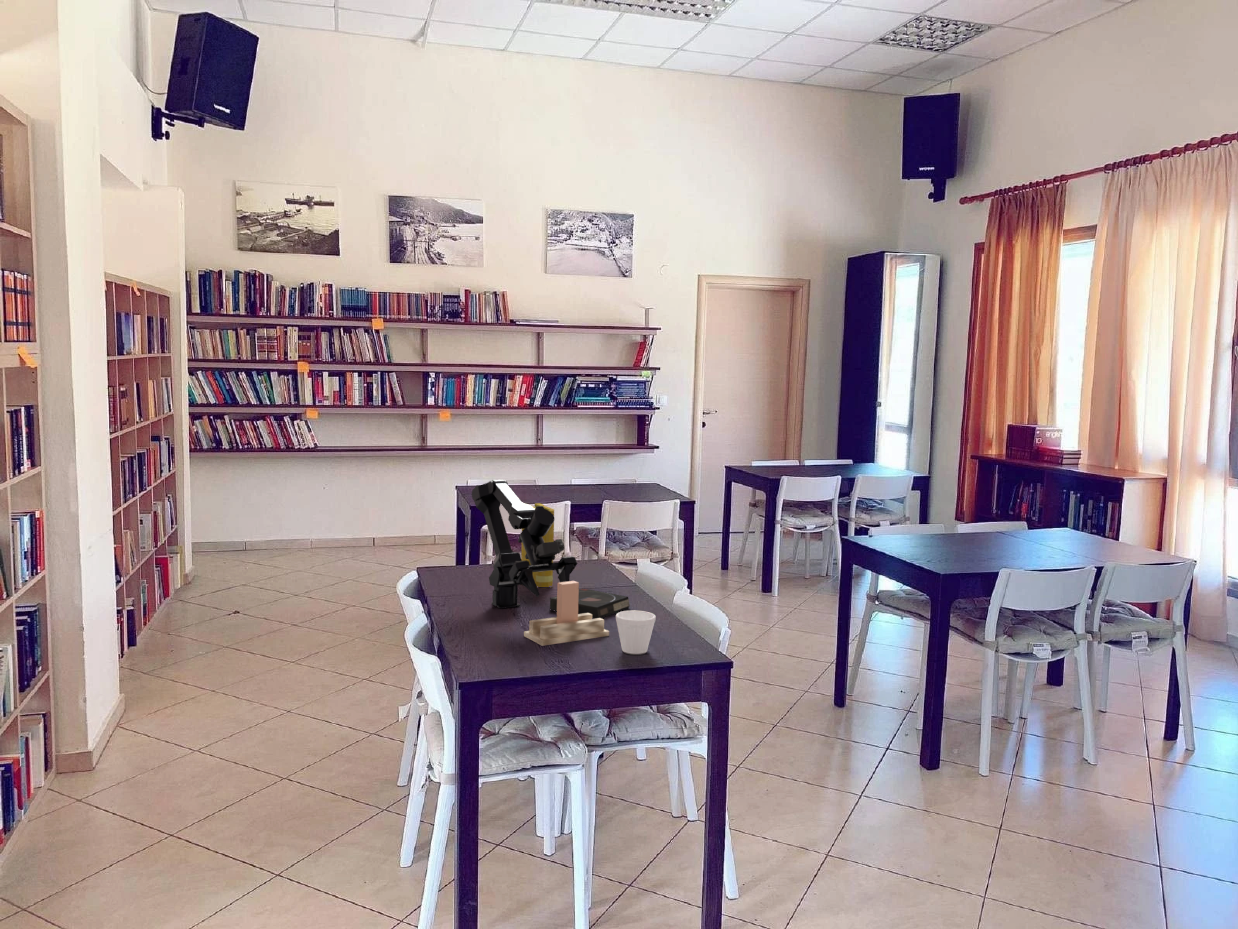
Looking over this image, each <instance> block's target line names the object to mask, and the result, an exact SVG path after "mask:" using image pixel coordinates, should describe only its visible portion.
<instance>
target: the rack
mask: <svg viewBox="0 0 1238 929" xmlns="http://www.w3.org/2000/svg"><path fill="white" fill-rule="evenodd" d="M528 622H529V625H528V628H529V629H528V630H526V631H523V637H525V638H527V639H529V640H531V641H533V643H534V642H535V643H536V644H538V645H540V646H542V647H543V646H549V645H550V646H551V645H556V644H564V643H570V642H575V641H577V642H578V641H583V640H584V641H585V640H589V639H596V638H603V637H608V636H609V637H610V630H608V629H605V619H603V618H596V619H592V614H590V613H583V614H578V621H574V622H567V623H560V624H556V623H557V616H554V617H547V618H540V619H533V620H532V619H531V620H529V621H528Z"/></svg>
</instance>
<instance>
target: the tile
mask: <svg viewBox="0 0 1238 929" xmlns="http://www.w3.org/2000/svg"><path fill="white" fill-rule="evenodd" d="M579 587H580V583H579V581H575V580H571V581H570V580H569V581H568V582H560V581H559V582H557V589H556V590H557V592H556V596H557V612H556V617H557V623H556V624H560V623H567V622H574V621H578V596H579Z"/></svg>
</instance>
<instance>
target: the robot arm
mask: <svg viewBox="0 0 1238 929" xmlns="http://www.w3.org/2000/svg"><path fill="white" fill-rule="evenodd" d="M471 498H472V500H473V502H474V505H475V507H476V509H477V510H479V511H480V512H481V513H482V514H483V516H484V519H485V522H486V523H485V524H486V526H487V529H488V533H489V536H490V539H491V543H492V547H493V550H494V554H495V559H494V563H493V565H492V566H493V567H492V568H493V569H492V572H491V574H489V577H488V581H489V585H490V586H492V587H493V590H492V597H491V598H492V600H491V605H492V606H495V607H496V606H497V608H498V609H508V608H515V607H516V606H517V607H521V604H520V603H518V594H519V592H518V590H519V589H518V588H519V586H524V587H525V588H526V589H527V590H529V591H530V592H531V593H532V594H533V595H534V596H535V597H536V598H539V597H540V591H539V588H537V585H536V583H535V580H534V578H533V572H542V571H552V570H553V571H555V572H556V574H557V579H558V580H559V582H568V581H570V577H571V574H572V573H573V571H574V569H575V568H576V567H577V565H578V560H577V559H576V558H577V557H575V556H573V555H571V556H569V555H568V556H562V557H561V558H560V559H559V560H558V562H553V563H552V560H553V561H554V560H555V559H556V556H557V554H560V553H561V552H562V551H564V550H565V543H564V541H563V539H561V538H558V539H555V540H554V542H544V540H543V537H542V536H545V535H546V534H547V532H548V530H549V529H550V527H551V526H552V524H553V522H554V523H555V514H554V515H553V514H552V513H551V512H550V511H548V510H546V509H544V507H543V506H536V508H535V509H534V508H533V507H534V506H533V505H531V504H528V503H524V502H522V501H521V499H520V498H519V497H518V495H516V493H515V492H514V491H513V490H512V488H511V487H510V486H509V483H508V481H507V480H506V479H492V480H489V481H488V482H485V483H483V484H477V485H476V486H475V487H474V488H473V489H472V491H471ZM530 505H531V506H530ZM501 506H502V507H503V508H504V509H505V511H506V512H507V514H508V518H507V520H508V521H509V524H510V526H511V527H512V529H513V530H521V532H520V533H519V537H518V538H517V539H518V540H517V541H518V543H519V544H522V543H523V545H524V548H525V551H526V553H527V554H526V555H525V558H526V559H529V561H530V563H529V561H527V560H525V561H522V560H521V553H519V552H518V551H517V552H515V551H513V550H512V547H511V544H510V540H509V537H508V533H507V530H506V526H505V524H504V520H503V516H502V512H501V509H500V508H501ZM532 506H533V507H532ZM522 529H524V530H523V531H522ZM530 564H531V565H530ZM517 607H516V608H517Z"/></svg>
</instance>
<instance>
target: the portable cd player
mask: <svg viewBox="0 0 1238 929" xmlns="http://www.w3.org/2000/svg"><path fill="white" fill-rule="evenodd" d="M630 605H631V604H630V599H629V596H628V595H627V596H626V595H622V594H616V593H611V592H610V593H609V592H604V591H600V590H593V589H588V588H584V587H583V588H580V589H579V596H578V614H583V613H590V614H592V618H593V619H596V618H602V619H603V617H604V618H606V617H609V616H612V615H615V614H617V613H619V611H620V612H622V610H623V611H625V610H624V609H626V610H628V609H629V608H630ZM550 609H551V610H555V611H554V612H556V611H557V595H556V596H553V597H550V598H549V610H550ZM551 610H550V611H551ZM614 613H615V614H614ZM611 614H612V615H611ZM605 616H606V617H605Z"/></svg>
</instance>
